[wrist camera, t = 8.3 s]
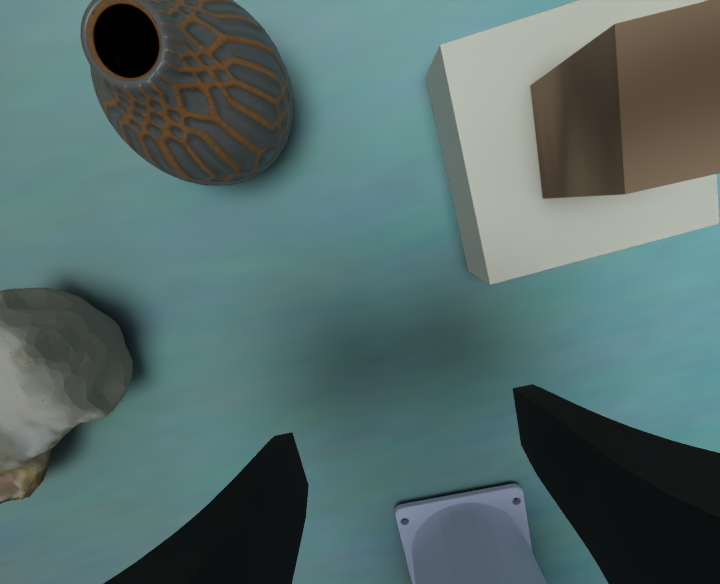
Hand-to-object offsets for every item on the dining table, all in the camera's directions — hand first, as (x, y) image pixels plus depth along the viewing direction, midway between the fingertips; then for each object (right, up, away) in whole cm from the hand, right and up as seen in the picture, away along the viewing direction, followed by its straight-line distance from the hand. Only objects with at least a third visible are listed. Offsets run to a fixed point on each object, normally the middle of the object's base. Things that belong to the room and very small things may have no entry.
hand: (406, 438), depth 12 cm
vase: (-8, +13, +7) cm, 17 cm away
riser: (+8, +12, +7) cm, 16 cm away
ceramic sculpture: (-20, 0, +10) cm, 22 cm away
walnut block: (+8, +11, +3) cm, 14 cm away
